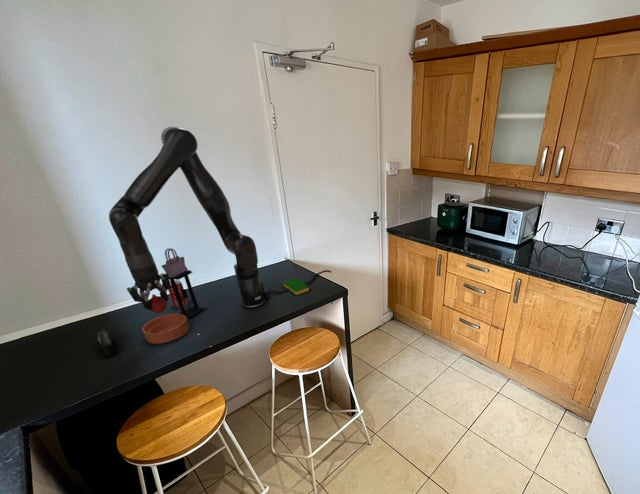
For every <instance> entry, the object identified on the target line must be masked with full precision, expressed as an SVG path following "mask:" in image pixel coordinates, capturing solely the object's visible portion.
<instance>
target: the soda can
mask: <svg viewBox="0 0 640 494" xmlns="http://www.w3.org/2000/svg"><path fill="white" fill-rule="evenodd" d="M174 281H175V283H176V286H177V289H178V292H179V295H180V298H181V300H182V303H183V306H184V308H185V307H186V306H188V305H189V300H188V298H186V299H185V298H183V295H182V292H181V290H183V289H185V288H184V285H183V283H182V281H180V279H179V280H176V279H174ZM170 286H171V288H170V289H168V290H167V292H168V293H169V296H170V299H171V302H172V304H173V306H174V308H176V309H180V307H179V304H178V302H177V299H176V296H175V293H174V290H173V288H172V285H171V282H170Z"/></svg>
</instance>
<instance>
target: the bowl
mask: <svg viewBox="0 0 640 494" xmlns="http://www.w3.org/2000/svg"><path fill="white" fill-rule="evenodd" d="M141 329H142V330H141V332H142V334H143V336H144V338H145V341H147V343H150V344H153V345H157V344H165V343H170V342H173V341H175V340H177V339H179V338H181V337H183V336H184V335H185V334H187V333H188V332H189V330H190V324H189V321H188V318H186V316H185V315H183V314H179V313H169V314H165V315H161V316H158V317H155V318H153V319H151V320H149V321H148V322H147V323H145V324H144V325H143V326H142V328H141Z"/></svg>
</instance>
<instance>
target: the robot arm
mask: <svg viewBox="0 0 640 494" xmlns="http://www.w3.org/2000/svg"><path fill="white" fill-rule="evenodd" d="M160 140H161V144H162V147H161V149H160V151H159V153H158V154H157V156H156V157H155V158H154V159H153V161H151V163H150V164H149V165H148V166H147V167H145V168H144V169H143V170H142V171H140V173H139V174H138V175H137V176H136V177H135V179H134V180H133V181H132V183H130V185H129V186H128V188H127V189H126V191H125V192H124V194H123V196H122V197H120V198H119V199H118V201H116V203H115V204H114V205H113V207H111V209H110V210H109V213H108V220H109V223H110V225H111V228H112V230H113V231H114V233H115V235H116V237H117V239H118V242H119V246H120V248H121V251H122V253H123V256H124V260H125V263H126V265H127V267H128V270H129V272H130V275H131V277H132V279H133V280H134V285H132V286H131V287H127V288H126V291H127V293H128V294H129V295H130V297H131V298H132V299H133V301H134V302H137V303H142V306H143V308H144V309H145V310H148V311H151V309H152V306H151V304H150V301H149V300H150V299H149V297H150V295H151V291H152V292H153V290H157V291H158V292H159V295H160V297H162V298H164V299H165V300H166V302H167V303H168V301H169V300H170V299H169V298H170V297H169V295H168V289H170V288H171V286H170V279H169V276H168V274H166V273H160V274H159V270H158V267H157V265H156V262H155V259H154V257H153V254H152V253H151V250H150V248H149V245H148V243H147V240H146V238H145V237H144V236H143V232H142V228H141V225H140V222H139V219H138V218H139V216H140V215H141V214H142V213H143V212H144V210H145V209H146V208H148V207H150V206H151V204H152V202H153V201H154V200H155V199H156V197H158V195H159V193H160V192H161V191H162V189H163V188H164V186H165V185H166V183H168V181H169V180H170V179H171V177H172V176H173V175H174V174H175V173H176V171H178V169H180V170H181V172H182V173H183V175H184V177H185V179H186V181H187V183H188V186H189V187H190V189H191V190H192V192H193V194H194V196H195V197H196V199H197V201H198V203H199V204H200V206H201V207H202V209H203V210H204V212H205V213H206V215H207V217H208V218H209V220H210V221H211V222H212V224H213V225H214V227H215V229H216V230H217V232H218V234H219V236H220V238H221V241H222V243H223V245H224V246H225V249H226V250H227V251H228V252H229V253H231V254H233V255H234V256H235V260H236V263H234V265H233V269H234V273H235V278H236V281H237V285H238V289H239V293H240V296H241V300H242V305H243V307H244V308H246V309H255V308H259V307H261V306H263V305H264V304H265V303H266V300H267V299H269V298H270V297H271V295H270V294H282V293H286V292H289V291H290V289H287V288H286V289H284V290H281V291H276V290H267V289H265V288H264V284H263V281H261V277H260V272H259V268H258V264H259V263H258V262H259V257H258V253H257V252H258V251H257V246H256V243H255V241H254V239H253V238H252V237H251V236H249V235H247V234H246V235H245V234H243V233H241V231H240V230H239V228H238V227H237V226H236V224H235V222H234V220H233V218H232V210H231V206H230V202H229V201H228V199H227V196H226V195H225V193H224V191H223V189H222V188H221V186H220V185H219V184H218V182H217V180H216V179H215V178H214V177H213V176H212V174H211V173H210V172H209V171H208V169H207V168H206V167H205V165H204V164H203V161H202V160H201V158H200V156H199V155H198V153H197V150H198V147H199V146H198V144H199V143H198V139H197V138H196V136H195V135H194V134H193V133H192V132H191V131H190V130H188V129H186V128H182V127H179V126H167V127H166V128H164V129H163V130H162V132H161V136H160ZM323 273H332V270H329V269H326V270H321V271H320V272H317V273H315V274H314V275H313V276H312V277H311V280H309V281H307V282H305V283H304V282H303V283H304V284H306V285H307V286H308V285H309V284H311V283H312V282H313V281H314V280H315V278H316V277H317V276H319V275H321V274H323ZM138 289H139V290H138Z"/></svg>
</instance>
